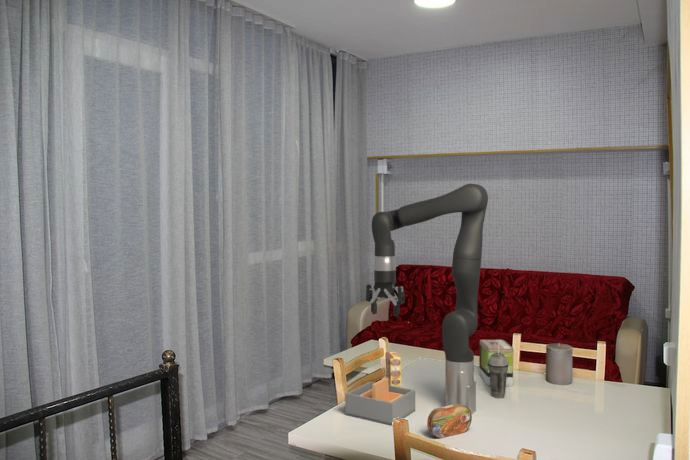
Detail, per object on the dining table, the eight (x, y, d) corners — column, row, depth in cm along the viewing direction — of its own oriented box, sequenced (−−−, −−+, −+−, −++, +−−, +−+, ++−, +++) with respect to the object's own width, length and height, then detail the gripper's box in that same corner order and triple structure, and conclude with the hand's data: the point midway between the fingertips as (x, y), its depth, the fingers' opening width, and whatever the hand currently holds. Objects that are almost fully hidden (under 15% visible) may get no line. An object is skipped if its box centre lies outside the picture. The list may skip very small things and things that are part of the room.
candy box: (402, 401, 199) (402, 357, 198) (390, 401, 198) (390, 358, 198) (396, 393, 207) (396, 351, 207) (385, 393, 207) (384, 351, 206)
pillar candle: (543, 377, 226) (543, 339, 225) (569, 377, 224) (569, 340, 224) (548, 384, 216) (548, 345, 215) (575, 385, 215) (575, 346, 214)
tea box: (514, 386, 214) (514, 347, 214) (487, 386, 214) (487, 347, 214) (503, 374, 229) (503, 338, 229) (478, 375, 229) (478, 338, 229)
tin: (431, 440, 165) (431, 412, 164) (425, 437, 167) (425, 408, 167) (472, 431, 172) (472, 403, 171) (465, 427, 174) (465, 400, 174)
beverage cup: (486, 398, 201) (486, 342, 200) (489, 392, 208) (489, 337, 207) (507, 400, 198) (507, 343, 198) (509, 394, 205) (509, 339, 204)
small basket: (403, 409, 188) (403, 380, 188) (389, 418, 180) (389, 388, 179) (372, 402, 194) (372, 374, 194) (357, 411, 186) (356, 382, 186)
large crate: (415, 410, 189) (415, 390, 189) (392, 425, 176) (392, 403, 176) (370, 401, 199) (369, 381, 198) (345, 414, 186) (345, 393, 185)
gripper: (408, 268, 197) (408, 315, 198) (372, 266, 205) (373, 311, 206) (397, 270, 191) (397, 318, 192) (361, 268, 199) (362, 314, 200)
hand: (385, 314), depth 199 cm, fingers open, 8 cm apart
